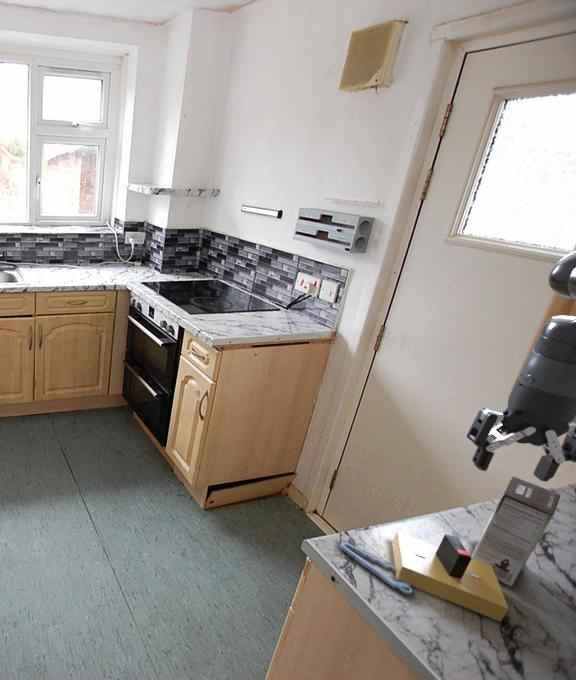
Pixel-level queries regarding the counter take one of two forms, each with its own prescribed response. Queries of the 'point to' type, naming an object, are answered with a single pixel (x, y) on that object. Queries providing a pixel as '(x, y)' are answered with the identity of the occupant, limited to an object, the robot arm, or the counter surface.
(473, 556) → the coffee box
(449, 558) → the lock knob
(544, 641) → the counter surface
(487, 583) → the tan flat wooden block
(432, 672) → the counter surface
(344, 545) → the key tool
